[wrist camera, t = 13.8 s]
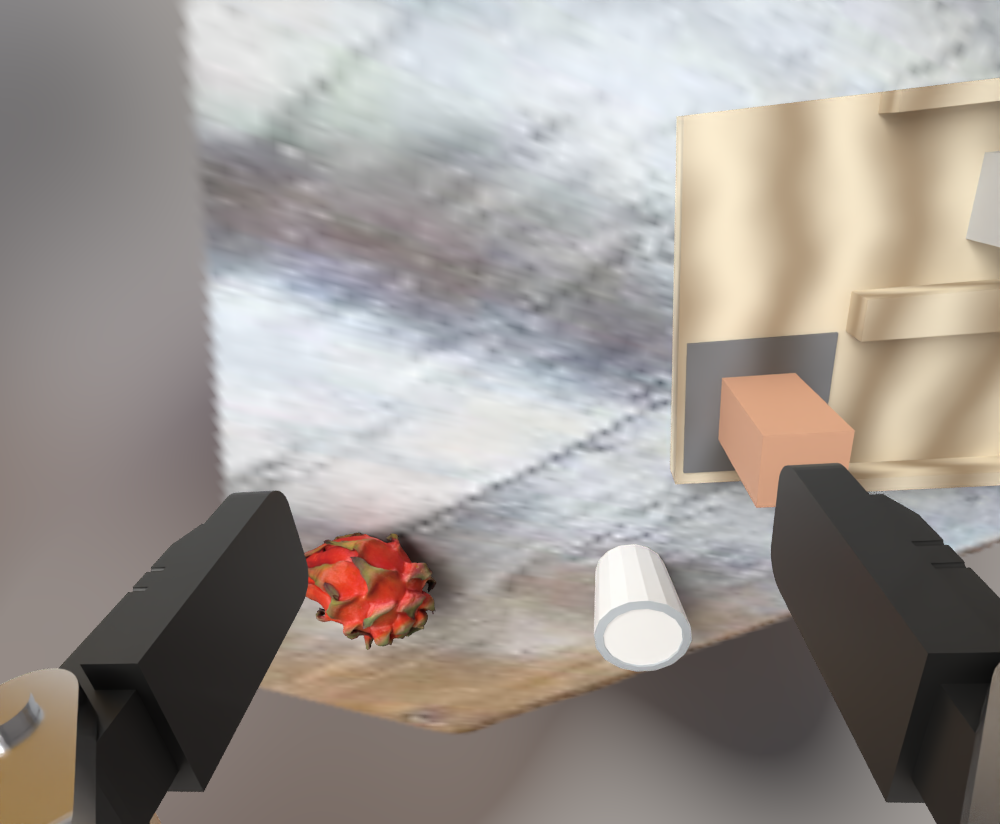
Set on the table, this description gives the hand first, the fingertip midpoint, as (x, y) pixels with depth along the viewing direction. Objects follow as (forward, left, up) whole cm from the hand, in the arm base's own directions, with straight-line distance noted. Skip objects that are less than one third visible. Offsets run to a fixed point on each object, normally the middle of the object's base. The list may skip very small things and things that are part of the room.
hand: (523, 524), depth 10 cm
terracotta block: (+8, +16, -28) cm, 33 cm away
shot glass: (+25, +12, -30) cm, 41 cm away
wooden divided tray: (+1, +21, -30) cm, 37 cm away
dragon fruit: (+28, -9, -30) cm, 42 cm away
